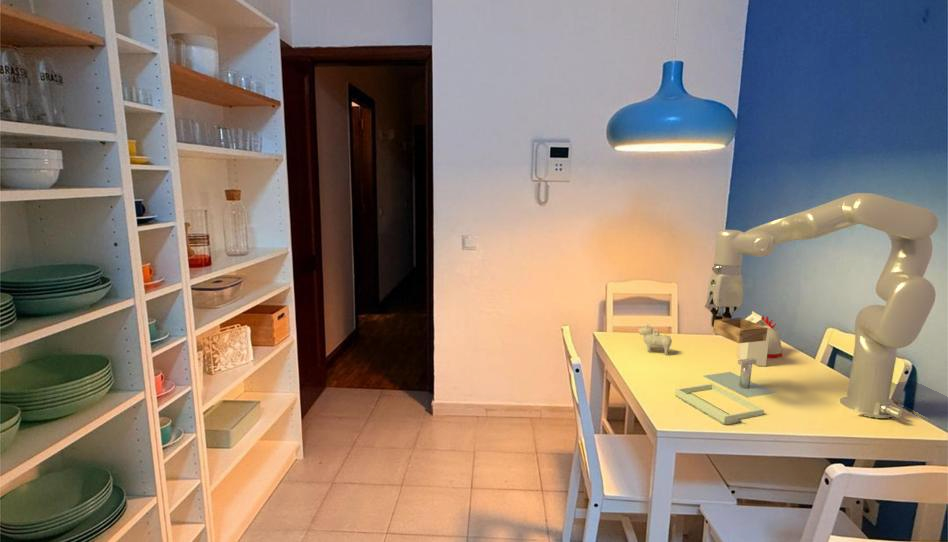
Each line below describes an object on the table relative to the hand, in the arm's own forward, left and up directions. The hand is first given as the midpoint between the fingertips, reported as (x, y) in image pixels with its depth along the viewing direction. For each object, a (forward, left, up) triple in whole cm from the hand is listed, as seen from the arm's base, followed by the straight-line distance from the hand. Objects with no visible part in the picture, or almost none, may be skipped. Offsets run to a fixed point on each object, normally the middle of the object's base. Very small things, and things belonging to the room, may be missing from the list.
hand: (720, 326), depth 153 cm
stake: (-3, -9, -20) cm, 23 cm away
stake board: (0, -9, -21) cm, 23 cm away
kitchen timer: (+23, -46, -22) cm, 56 cm away
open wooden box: (-5, 0, -1) cm, 5 cm away
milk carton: (+15, -32, -22) cm, 42 cm away
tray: (-10, +9, -21) cm, 25 cm away
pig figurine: (+36, -5, -22) cm, 43 cm away
